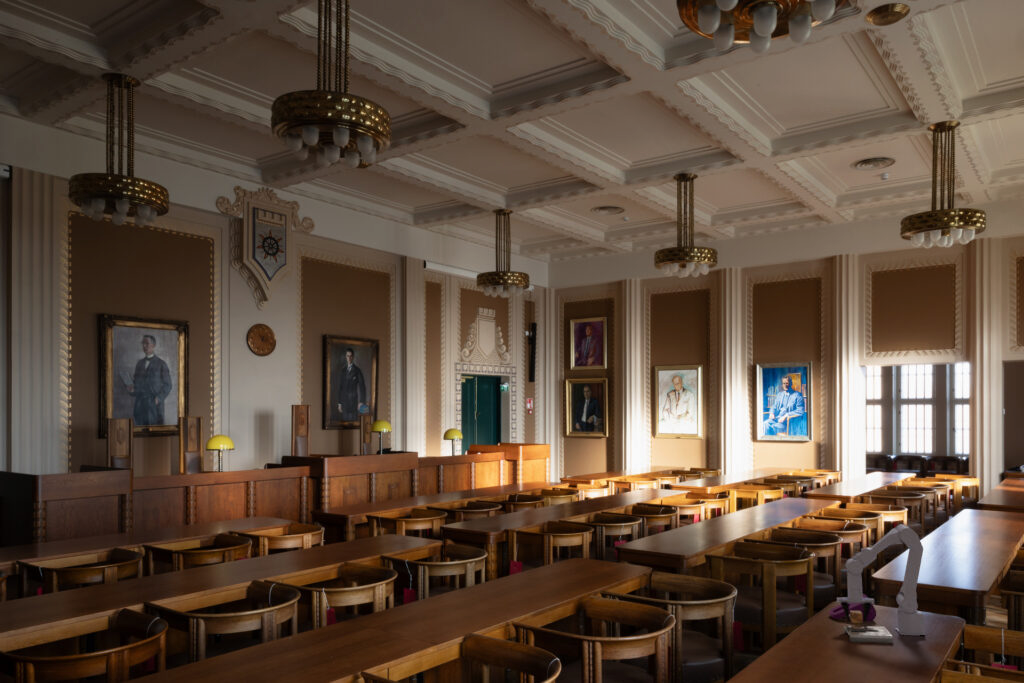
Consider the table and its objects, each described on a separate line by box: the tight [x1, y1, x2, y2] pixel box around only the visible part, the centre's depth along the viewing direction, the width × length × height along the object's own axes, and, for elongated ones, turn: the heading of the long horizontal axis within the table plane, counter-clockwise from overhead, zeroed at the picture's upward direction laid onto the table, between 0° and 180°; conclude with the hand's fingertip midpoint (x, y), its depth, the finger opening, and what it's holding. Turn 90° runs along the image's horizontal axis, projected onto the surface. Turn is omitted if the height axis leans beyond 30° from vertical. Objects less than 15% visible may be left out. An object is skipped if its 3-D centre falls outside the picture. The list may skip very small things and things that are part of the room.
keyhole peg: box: [849, 611, 864, 626], centre depth 332 cm, size 4×4×8 cm
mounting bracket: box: [829, 593, 877, 622], centre depth 349 cm, size 9×8×18 cm
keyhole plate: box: [843, 624, 894, 644], centre depth 321 cm, size 16×12×3 cm
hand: (856, 620), depth 332 cm, fingers open, 6 cm apart
